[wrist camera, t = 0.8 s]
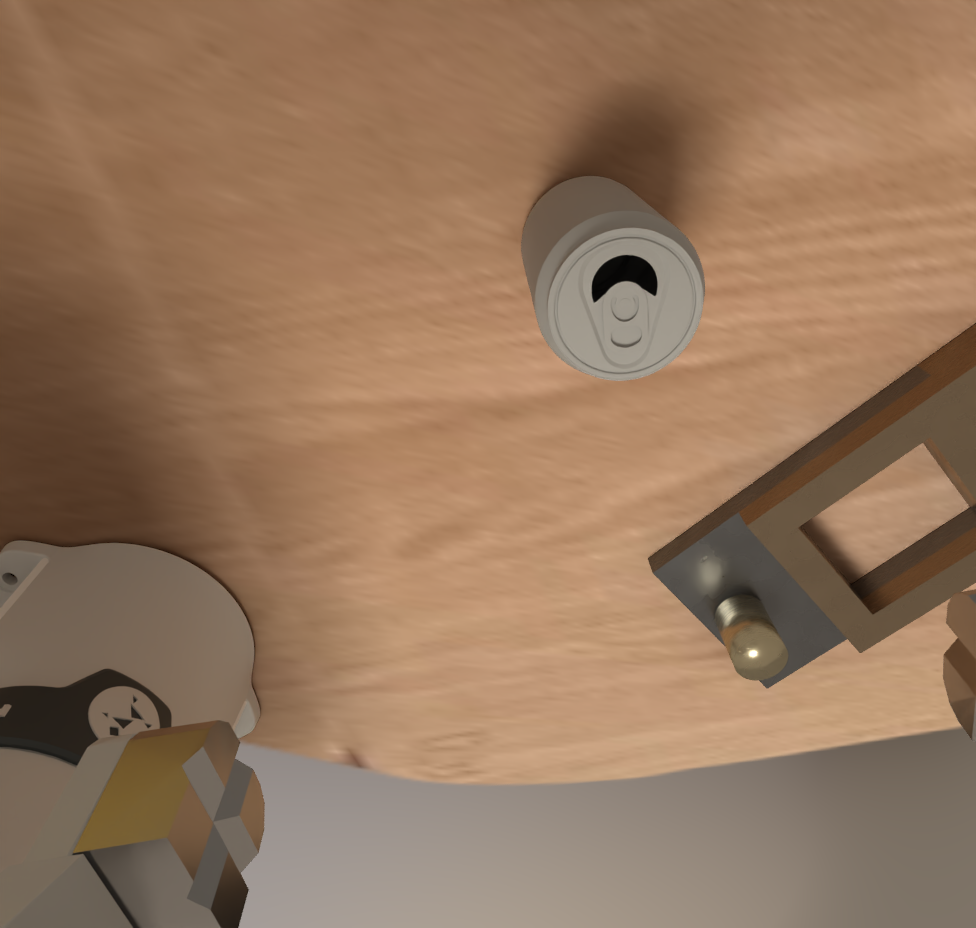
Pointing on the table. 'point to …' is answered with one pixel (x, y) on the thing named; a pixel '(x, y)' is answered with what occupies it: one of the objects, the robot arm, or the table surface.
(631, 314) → the beverage can
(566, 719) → the table surface
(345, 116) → the table surface
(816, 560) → the plate with brass posts
